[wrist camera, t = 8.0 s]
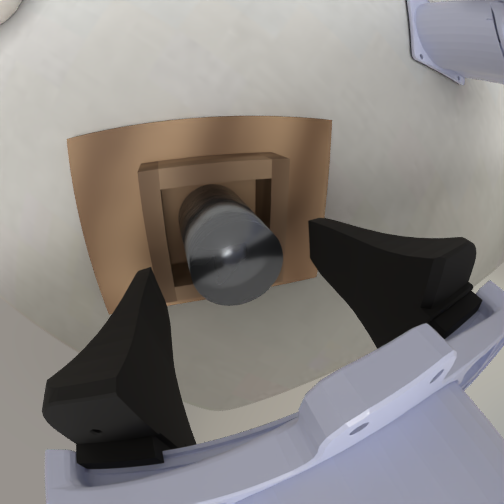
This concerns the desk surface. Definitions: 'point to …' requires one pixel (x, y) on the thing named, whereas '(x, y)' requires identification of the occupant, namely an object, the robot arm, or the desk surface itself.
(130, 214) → the socket board
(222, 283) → the pin
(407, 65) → the desk surface
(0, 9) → the milkshake
